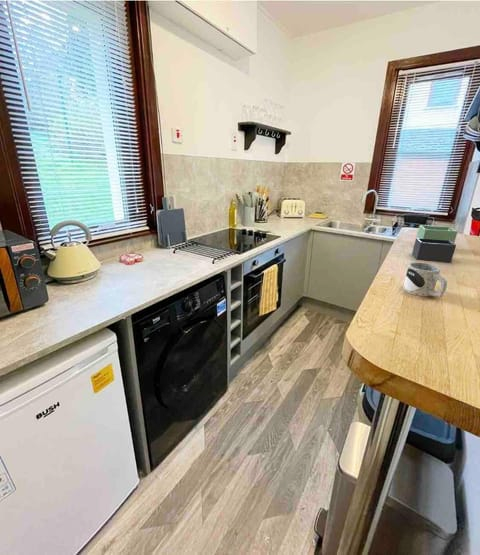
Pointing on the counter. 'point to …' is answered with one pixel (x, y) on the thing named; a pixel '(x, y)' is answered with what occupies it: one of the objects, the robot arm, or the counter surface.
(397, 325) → the counter surface
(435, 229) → the green basket
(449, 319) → the counter surface
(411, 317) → the counter surface
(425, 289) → the mug
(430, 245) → the charcoal basket
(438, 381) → the counter surface
